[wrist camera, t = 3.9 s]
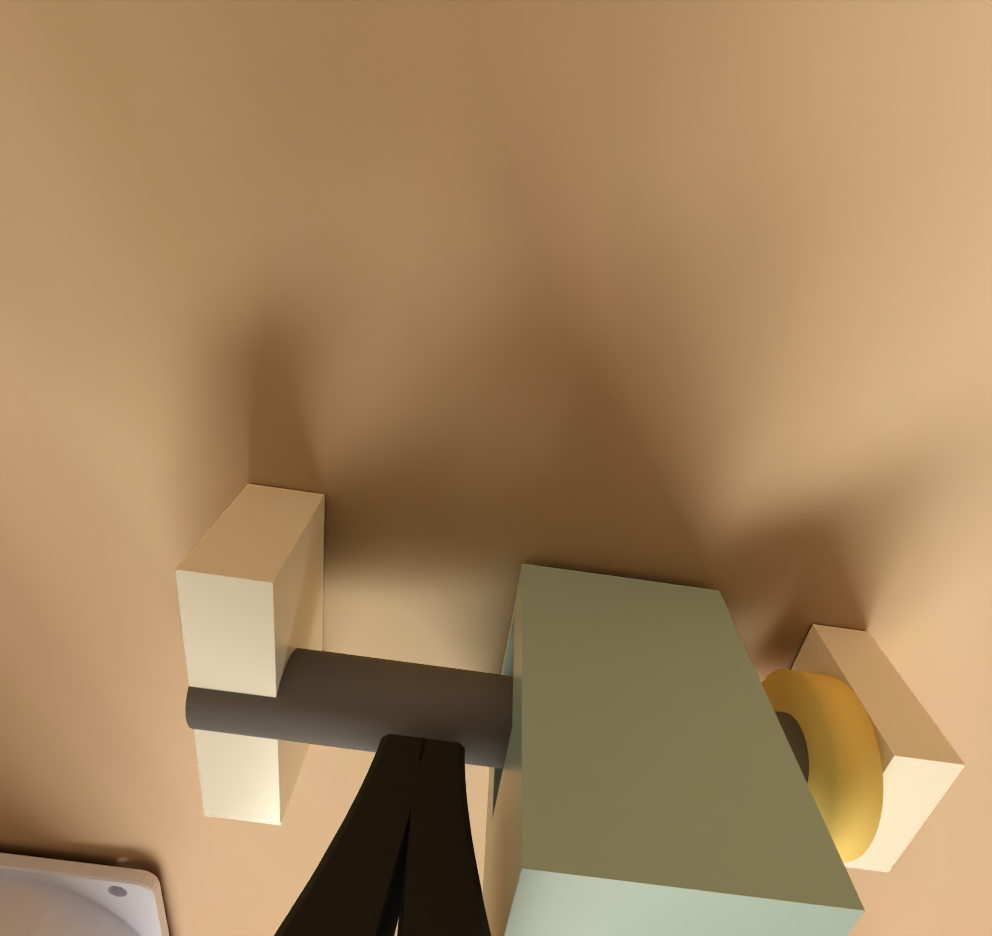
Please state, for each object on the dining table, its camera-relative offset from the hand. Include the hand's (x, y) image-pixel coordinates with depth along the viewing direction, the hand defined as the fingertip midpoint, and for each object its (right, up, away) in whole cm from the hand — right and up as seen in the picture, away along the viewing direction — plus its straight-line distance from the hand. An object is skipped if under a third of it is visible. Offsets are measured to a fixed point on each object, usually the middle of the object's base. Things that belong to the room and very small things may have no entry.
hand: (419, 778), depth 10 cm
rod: (+2, +1, +3) cm, 4 cm away
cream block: (+8, 0, +3) cm, 9 cm away
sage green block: (+3, +1, +3) cm, 5 cm away
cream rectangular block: (-3, +2, +3) cm, 5 cm away
